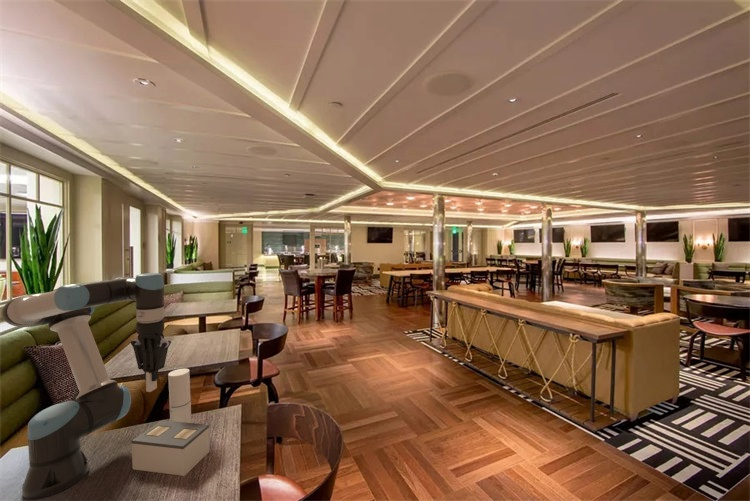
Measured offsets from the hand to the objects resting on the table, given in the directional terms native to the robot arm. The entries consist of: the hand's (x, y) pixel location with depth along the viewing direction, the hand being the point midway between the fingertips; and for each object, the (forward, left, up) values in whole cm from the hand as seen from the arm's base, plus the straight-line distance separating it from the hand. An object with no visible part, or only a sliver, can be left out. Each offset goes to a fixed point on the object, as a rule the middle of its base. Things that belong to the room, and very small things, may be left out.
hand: (151, 389), depth 104 cm
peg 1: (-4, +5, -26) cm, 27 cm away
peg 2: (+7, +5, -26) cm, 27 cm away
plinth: (+2, +5, -28) cm, 28 cm away
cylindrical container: (-7, +19, -28) cm, 35 cm away
